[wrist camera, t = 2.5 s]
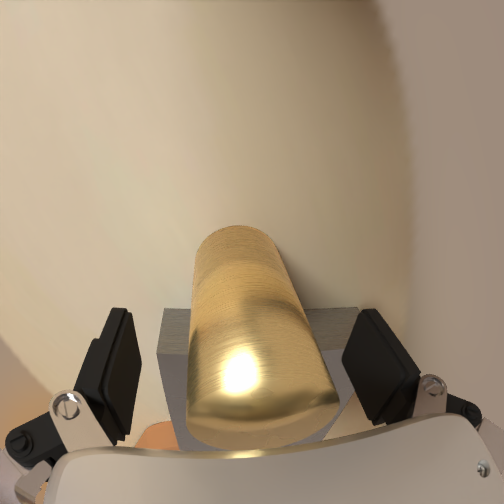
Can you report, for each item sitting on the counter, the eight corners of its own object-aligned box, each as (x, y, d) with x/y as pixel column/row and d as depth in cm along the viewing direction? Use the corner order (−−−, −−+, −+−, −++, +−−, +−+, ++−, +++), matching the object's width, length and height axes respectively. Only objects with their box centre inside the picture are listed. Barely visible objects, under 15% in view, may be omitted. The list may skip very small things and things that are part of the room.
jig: (164, 308, 16) (156, 353, 12) (357, 307, 17) (380, 343, 14) (181, 423, 22) (181, 456, 19) (308, 417, 24) (317, 446, 21)
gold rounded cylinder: (195, 223, 14) (179, 380, 6) (284, 227, 14) (362, 369, 6) (195, 298, 16) (191, 452, 8) (272, 299, 16) (316, 442, 8)
